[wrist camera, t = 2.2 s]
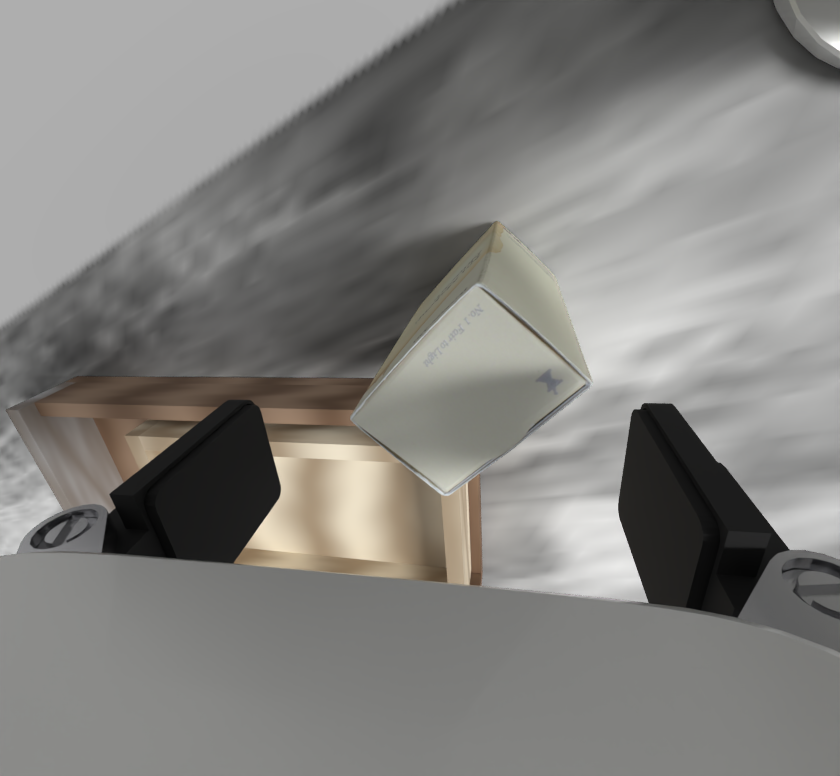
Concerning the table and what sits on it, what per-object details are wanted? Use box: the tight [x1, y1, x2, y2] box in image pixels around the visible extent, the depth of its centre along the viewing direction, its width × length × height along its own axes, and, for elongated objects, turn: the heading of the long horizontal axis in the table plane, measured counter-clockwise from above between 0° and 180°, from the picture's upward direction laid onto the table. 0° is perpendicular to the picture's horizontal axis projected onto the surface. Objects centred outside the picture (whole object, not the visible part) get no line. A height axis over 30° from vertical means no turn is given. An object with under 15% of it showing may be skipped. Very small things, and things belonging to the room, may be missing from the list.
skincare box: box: [350, 221, 593, 496], centre depth 18 cm, size 6×4×12 cm
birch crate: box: [125, 420, 471, 585], centre depth 28 cm, size 20×13×4 cm, turn 95°
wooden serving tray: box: [6, 376, 482, 586], centre depth 29 cm, size 29×16×5 cm, turn 95°
